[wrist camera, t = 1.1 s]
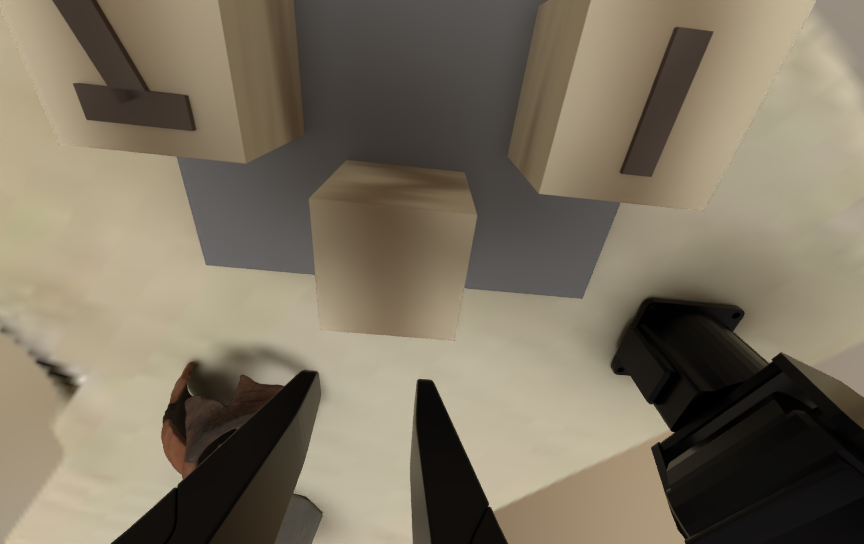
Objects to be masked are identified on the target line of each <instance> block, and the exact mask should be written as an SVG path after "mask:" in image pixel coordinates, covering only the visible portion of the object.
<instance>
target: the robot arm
mask: <svg viewBox="0 0 864 544" xmlns="http://www.w3.org/2000/svg"><path fill="white" fill-rule="evenodd" d="M653 305H654V306H653ZM651 306H653V307H651ZM650 307H651V308H650ZM744 314H745V313H744V311H743V310H742V309H741V308H739V307H738V306H733V305H722V304H711V303H699V302H688V301H677V300H666V299H655V298H651V299H648V300H646V301H645V302H644V303H643V305H642V307H641V308H640V310H639V312H638V314H637V316H636V318H635V320H634V322H633V324H632V326H631V328H630V330H629V332H628V334H627V336H626V338H625V340H624V342H623V344H622V346H621V348H620V349H619V351H618V353H617V355H616V357H615V359H614V361H613V363H612V365H611V368H612V370H613V372H614V373H615V374H617V375H628V376H631V378H632V379H633V381H634V382H635V384H636V385H637V387H638V388H639V390H640V392H641V393H642V395H643V396H644V398H645V399H646V401H647V402H648V403H649V404H654V406H655V407H656V409H657V410H658V412H659V413H660V415H661V416H662V418H663V420H664V421H665V423H666V424H667V426H668V427H669V429H670V430H671V431H672V432H675V433H673V434H672V435H671V436H669V437H668V438H666V439H665V440H664V441H662V442H661V443H660V442H658V443H657V444H655V445H654V446H652V447H651V449H652V453H653V456H654V459H655V462H656V465H657V469H658V472H659V475H660V478H661V481H662V485H663V488H664V491H665V494H666V498H667V501H668V504H669V507H670V510H671V513H672V516H673V518H674V521H675V523H676V526H677V529H678V530H679V532H680V533H681V534H682V535H683V537H684V538H685V544H864V397H862V396H861V395H859V394H858V393H856V392H855V391H854V390H852V389H851V388H849V387H848V386H847V385H845V384H844V383H842V382H841V381H839V380H837V379H835V378H833V377H831V376H829V375H827V374H825V373H823V372H821V371H818V370H816V369H814V368H813V367H810V366H808V365H806V364H804V363H802V362H800V361H798V360H796V359H794V358H792V357H790V356H788V355H786V354H784V353H782V352H781V353H779V354H778V355H777V356H775V357H774V358H773V359H771V360H772V362H771V363H770V364H769V363H768V362H767V361H766V360H765V359H764V358H763V357H761V356H760V355H759V354H758V353H757V352H756V351H755V350H753V349H752V348H751V347H750V346H749V345H748V344H747V343H745V342H744V341H743V340H742V339H741V338H740V337H739V336H737V335H736V334H735V333H734V332H733V330H734V329H735V328H736V326H737V325H738V323H739V322H740V321H741V319H742V318H743V316H744ZM320 397H321V389H320V379H319V373H318V372H317V371H310V370H303V371H301V372H299V373H298V374H297V375H296V376H295V377H294V378H293V379H292V380H291V381H290V382H289V383H288V384H286V385H285V386H284V387H283V388H282V389H281V390H280V391H279V392H278V393H277V394H276V395H274V396H273V397H272V398H271V399H270V400H269V401H268V402H267V403H266V404H265V405H264V406H263V407H261V408H260V409H259V410H258V411H257V412H256V413H255V414H254V415H253V416H252V417H251V418H250V419H248V420H247V421H246V422H245V423H244V424H243V425H242V426H241V427H240V428H239V429H238V430H236V431H235V432H234V433H233V434H232V435H231V436H230V437H229V438H228V439H227V440H226V441H225V442H223V443H222V444H221V445H220V446H219V447H218V448H217V449H216V450H215V451H214V452H213V453H212V454H210V455H209V456H208V457H207V458H206V459H205V460H204V461H203V462H202V463H201V464H200V465H198V466H197V467H196V468H195V469H194V470H193V471H192V472H191V473H190V474H189V475H188V476H187V477H185V478H184V479H183V480H182V481H181V482H180V483H179V484H178V486H177V488H173V489H172V490H171V491H170V492H169V493H168V494H167V495H166V496H165V497H164V498H162V499H161V500H160V501H159V502H158V503H157V504H156V505H155V506H154V507H153V508H151V509H150V510H149V511H148V512H147V513H146V514H145V515H144V516H142V517H141V518H140V519H139V520H138V521H137V522H136V523H135V524H133V525H132V526H131V527H130V528H129V529H128V530H127V531H125V532H124V533H123V534H122V535H121V536H119V537H118V538H117V539H116V540H115V541H113V542H112V543H111V544H275V541H276V538H277V535H278V533H279V530H280V527H281V524H282V522H283V519H284V516H285V514H286V511H287V508H288V505H289V503H290V500H291V497H292V495H293V492H294V489H295V486H296V484H297V481H298V478H299V475H300V473H301V470H302V467H303V464H304V461H305V458H306V454H307V450H308V446H309V442H310V438H311V434H312V430H313V426H314V422H315V418H316V414H317V410H318V406H319V402H320ZM410 482H411V507H412V532H413V544H508V542H507V540H506V538H505V536H504V534H503V532H502V530H501V528H500V526H499V524H498V522H497V520H496V517H495V515H494V513H493V511H492V509H491V507H488V506H489V502H488V500H487V498H486V496H485V494H484V491H483V489H482V487H481V485H480V483H479V480H478V478H477V476H476V474H475V472H474V469H473V467H472V465H471V463H470V461H469V458H468V456H467V454H466V452H465V450H464V448H463V445H462V443H461V441H460V439H459V437H458V434H457V432H456V430H455V428H454V426H453V423H452V421H451V419H450V417H449V415H448V412H447V410H446V408H445V406H444V404H443V401H442V399H441V397H440V395H439V393H438V391H437V388H436V386H435V384H434V382H433V381H432V380H427V379H418V380H417V385H416V394H415V403H414V416H413V430H412V444H411V458H410Z"/></svg>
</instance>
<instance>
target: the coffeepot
mask: <svg viewBox="0 0 864 544" xmlns="http://www.w3.org/2000/svg"><path fill="white" fill-rule="evenodd" d="M321 519H322V515H321V513H320V511H319V509H318V508H317V507H316V506H315V505H314V504H313V503H312V502H311V501H309V500H307V499H305V498H304V497H301V496H299V495H296V494H293V495H292V497H291V500H290V503H289V505H288V508H287V511H286V514H285V516H284V519H283V522H282V524H281V527H280V530H279V533H278V535H277V538H276V541H275V544H312V541H313V539H314V536H315V534H316V531H317V529H318V526H319V524H320V521H321Z"/></svg>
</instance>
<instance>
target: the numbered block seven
mask: <svg viewBox="0 0 864 544" xmlns="http://www.w3.org/2000/svg"><path fill="white" fill-rule="evenodd" d="M0 10H1V12H2V15H3V17H4V19H5V21H6V24H7V26H8V28H9V31H10V33H11V35H12V38H13V40H14V42H15V45H16V47H17V49H18V52H19V54H20V56H21V58H22V61H23V63H24V65H25V68H26V70H27V72H28V75H29V77H30V79H31V82H32V84H33V86H34V89H35V91H36V93H37V95H38V98H39V100H40V102H41V105H42V107H43V109H44V112H45V114H46V116H47V119H48V121H49V123H50V126H51V128H52V130H53V132H54V135H55V137H56V139H57V142H58V144H62V145H71V146H81V147H91V148H100V149H110V150H120V151H129V152H139V153H149V154H158V155H168V156H178V157H187V158H197V159H207V160H216V161H226V162H236V163H245V164H246V163H248V162H250V161H252V160H254V159H256V158H258V157H260V156H262V155H264V154H266V153H268V152H270V151H272V150H274V149H276V148H278V147H280V146H283V145H285V144H287V143H289V142H291V141H293V140H295V139H297V138H299V137H301V136H303V135H305V132H304V120H303V108H302V95H301V83H300V71H299V59H298V47H297V34H296V22H295V10H294V0H0Z"/></svg>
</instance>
